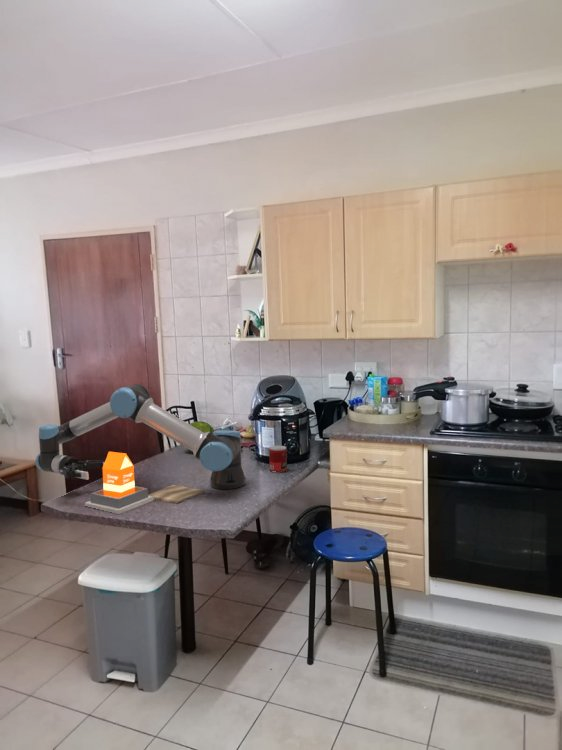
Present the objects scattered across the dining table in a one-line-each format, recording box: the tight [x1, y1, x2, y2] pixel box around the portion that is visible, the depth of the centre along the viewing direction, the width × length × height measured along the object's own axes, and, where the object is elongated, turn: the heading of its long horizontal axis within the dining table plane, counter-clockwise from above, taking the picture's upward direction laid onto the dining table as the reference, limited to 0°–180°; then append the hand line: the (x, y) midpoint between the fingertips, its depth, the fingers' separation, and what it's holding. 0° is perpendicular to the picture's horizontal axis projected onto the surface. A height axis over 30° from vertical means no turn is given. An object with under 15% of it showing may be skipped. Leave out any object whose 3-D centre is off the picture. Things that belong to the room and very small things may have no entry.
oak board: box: [148, 484, 204, 504], centre depth 227 cm, size 16×16×1 cm
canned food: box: [268, 445, 288, 472], centre depth 260 cm, size 8×8×11 cm
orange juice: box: [102, 451, 136, 498], centre depth 217 cm, size 8×9×20 cm
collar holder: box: [84, 485, 155, 515], centre depth 218 cm, size 18×18×5 cm
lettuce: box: [189, 421, 215, 433], centre depth 304 cm, size 17×23×16 cm
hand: (101, 471), depth 221 cm, fingers open, 13 cm apart
